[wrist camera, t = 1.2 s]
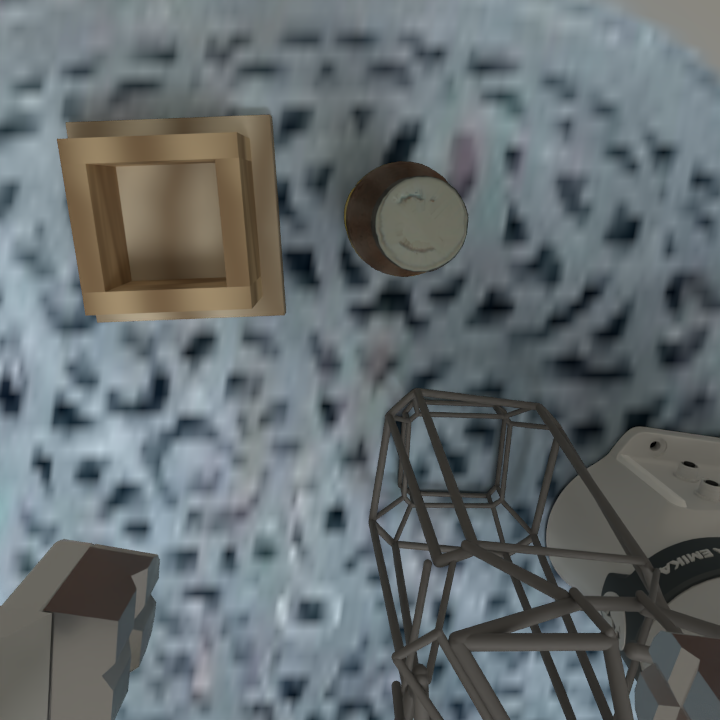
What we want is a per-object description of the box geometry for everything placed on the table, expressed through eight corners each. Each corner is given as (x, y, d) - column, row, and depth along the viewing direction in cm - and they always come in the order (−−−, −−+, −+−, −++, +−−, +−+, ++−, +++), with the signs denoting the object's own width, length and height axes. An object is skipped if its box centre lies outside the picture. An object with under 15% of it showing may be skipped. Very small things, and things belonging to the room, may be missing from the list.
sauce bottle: (389, 274, 46) (417, 336, 27) (327, 218, 44) (308, 240, 25) (448, 209, 44) (521, 224, 25) (385, 149, 43) (412, 118, 24)
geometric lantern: (562, 370, 48) (1063, 823, 15) (525, 540, 53) (841, 1183, 19) (366, 351, 47) (419, 786, 14) (345, 526, 52) (348, 1172, 18)
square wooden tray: (272, 116, 43) (258, 104, 37) (286, 312, 46) (276, 329, 40) (73, 124, 42) (27, 113, 37) (103, 319, 46) (66, 338, 40)
